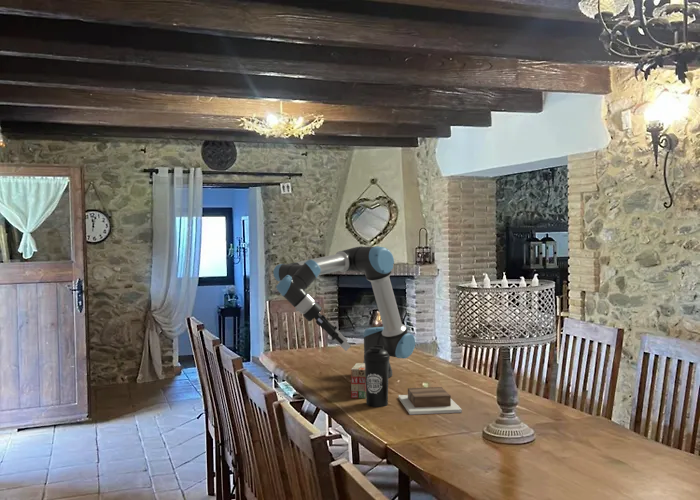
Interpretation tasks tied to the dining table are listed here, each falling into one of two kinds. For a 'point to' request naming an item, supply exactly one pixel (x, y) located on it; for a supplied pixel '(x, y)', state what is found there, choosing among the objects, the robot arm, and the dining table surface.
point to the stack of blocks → (358, 381)
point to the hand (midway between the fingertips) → (346, 345)
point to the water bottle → (376, 376)
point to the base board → (428, 410)
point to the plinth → (429, 397)
